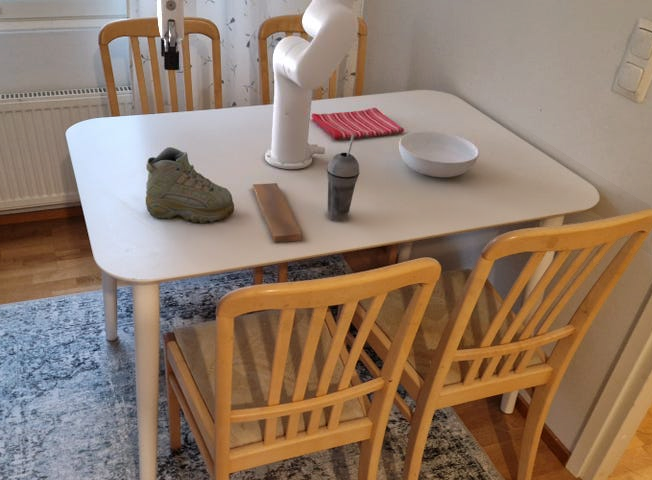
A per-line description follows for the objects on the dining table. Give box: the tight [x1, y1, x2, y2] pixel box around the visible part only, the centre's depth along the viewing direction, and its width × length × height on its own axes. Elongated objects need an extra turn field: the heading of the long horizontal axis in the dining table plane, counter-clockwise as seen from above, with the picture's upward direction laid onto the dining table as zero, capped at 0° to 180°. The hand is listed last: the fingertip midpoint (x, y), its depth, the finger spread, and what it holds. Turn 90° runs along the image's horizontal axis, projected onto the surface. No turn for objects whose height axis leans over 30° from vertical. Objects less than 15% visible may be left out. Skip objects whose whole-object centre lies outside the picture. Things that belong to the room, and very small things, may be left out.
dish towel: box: [311, 107, 405, 141], centre depth 191 cm, size 17×24×3 cm
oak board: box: [252, 182, 303, 244], centre depth 145 cm, size 6×24×2 cm, turn 14°
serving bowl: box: [398, 130, 480, 178], centre depth 169 cm, size 21×21×7 cm
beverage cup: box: [326, 135, 360, 222], centre depth 141 cm, size 7×7×20 cm
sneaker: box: [145, 146, 235, 224], centre depth 139 cm, size 11×19×15 cm, turn 78°
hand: (169, 62), depth 142 cm, fingers open, 9 cm apart
